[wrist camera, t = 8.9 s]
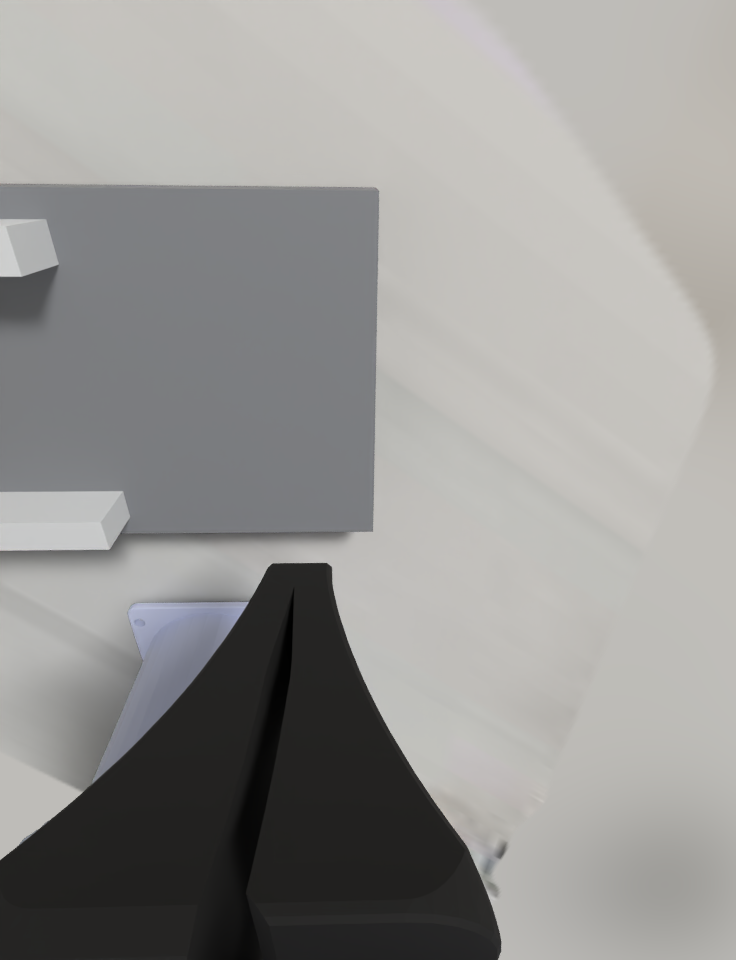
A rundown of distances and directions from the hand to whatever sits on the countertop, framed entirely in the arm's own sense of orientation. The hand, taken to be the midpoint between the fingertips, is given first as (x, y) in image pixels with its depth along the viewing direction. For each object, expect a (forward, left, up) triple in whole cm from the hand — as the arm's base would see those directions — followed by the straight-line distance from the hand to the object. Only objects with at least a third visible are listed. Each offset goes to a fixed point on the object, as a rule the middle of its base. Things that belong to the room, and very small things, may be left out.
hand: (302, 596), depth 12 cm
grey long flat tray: (+2, +12, -10) cm, 16 cm away
